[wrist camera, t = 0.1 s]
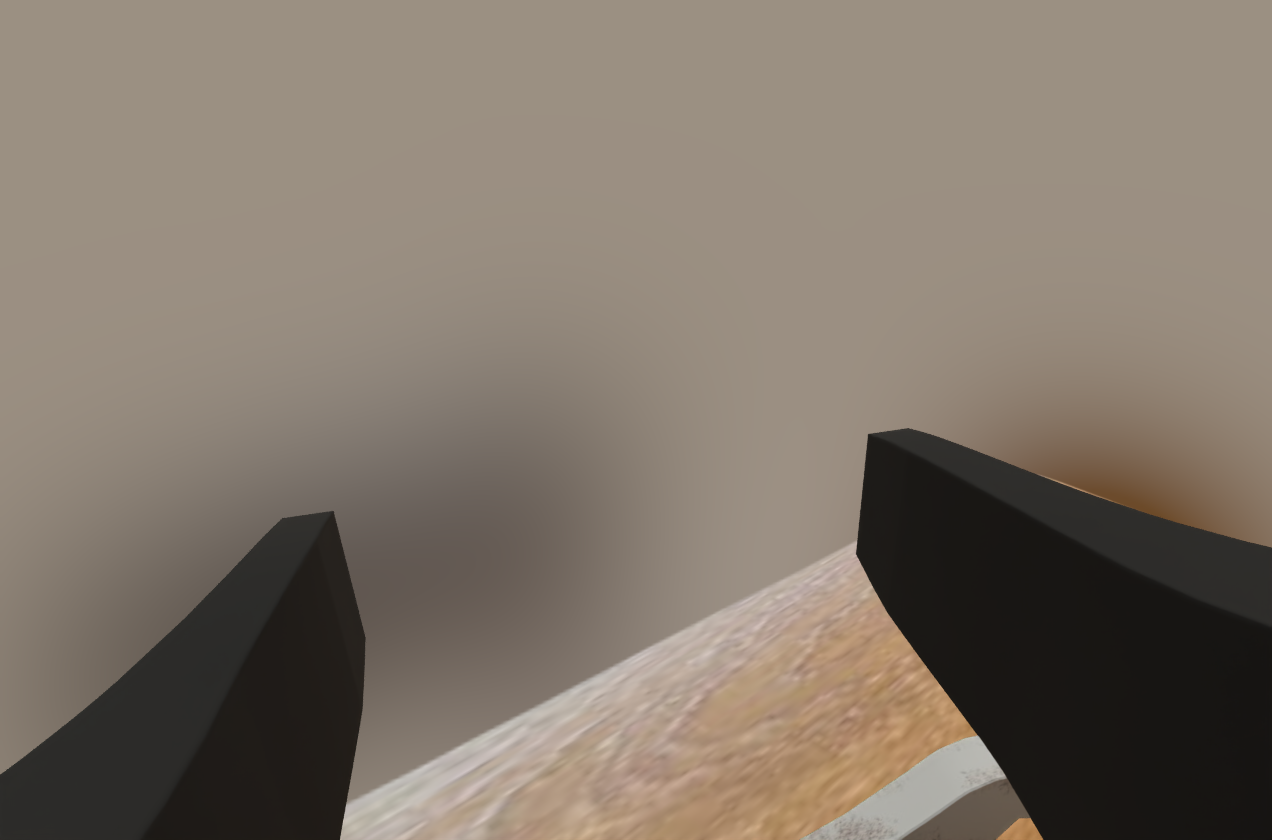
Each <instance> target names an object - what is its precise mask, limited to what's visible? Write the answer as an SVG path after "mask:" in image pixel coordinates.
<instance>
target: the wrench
mask: <svg viewBox="0 0 1272 840" xmlns="http://www.w3.org/2000/svg"><path fill="white" fill-rule="evenodd" d="M1019 818H1030V816H1029V814H1028V813H1027V811H1026V809H1025V808H1024V806H1023V804H1022V803H1021V801H1020V799H1019V798H1018V796H1017V794H1016V793H1015V791H1014V789H1013V788H1012V786H1011V784H1010V783H1009V781H1008V779H1007V778H1006V776H1005V774H1004V773H1003V771H1002V770H1001V768H1000V767H999V765H998V764H997V762H996V761H995V759H994V758H993V756H992V755H991V753H990V752H989V751H988V749H987V748H986V746H985V745H984V743H983V742H982V740H981V739H980V738H979V736H974V737H969V738H964V739H962V740H959V741H957V742H955V743H952V744H950V745H948V746H945V747H943V748H941V749H938V750H937V751H935V752H934V753H932V754H931V755H929V756H928V757H926V758H925V759H924V760H922V761H921V762H919V763H918V764H917V765H915V766H914V767H913V768H911V769H910V770H909V771H907V772H906V773H904V774H903V775H901V776H900V777H898V778H897V779H895V780H894V781H892V782H891V783H890V784H888V785H887V786H885V787H884V788H882V789H881V790H879V791H878V792H876V793H875V794H873V795H872V796H870V797H869V798H868V799H866V800H865V801H863V802H862V803H860V804H859V805H857V806H856V807H854V808H853V809H851V810H850V811H848V812H847V813H846V814H844V815H842V816H840V817H839V818H837V819H835V820H833V821H832V822H830V823H828V824H826V825H825V826H823V827H821V828H819V829H818V830H816V831H814V832H812V833H810V834H809V835H807V836H805V837H803V838H802V839H800V840H996V839H997V838H998V837H999V836H1000V835H1001V834H1002V833H1003V832H1004V831H1006V830H1007V829H1008V828H1009V827H1010V826H1011V825H1012V824H1013V823H1014V822H1015V821H1016V820H1018V819H1019Z"/></svg>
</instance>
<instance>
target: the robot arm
mask: <svg viewBox="0 0 1272 840" xmlns="http://www.w3.org/2000/svg"><path fill="white" fill-rule="evenodd" d="M856 555H857V557H858V559H859V561H860V563H861V565H862V566H863V568H864V570H865V572H866V574H867V576H868V578H869V580H870V582H871V584H872V586H873V588H874V590H875V591H876V593H877V595H878V597H879V599H880V600H881V602H882V604H883V606H884V607H885V609H886V611H887V613H888V614H889V615H890V617H891V618H892V620H893V621H894V623H895V624H896V625H897V627H898V628H899V630H900V631H901V632H902V634H903V635H904V636H905V638H906V639H907V641H908V642H909V643H910V645H911V646H912V647H913V649H914V650H915V652H916V653H917V654H918V656H919V657H920V658H921V660H922V661H923V662H924V664H925V665H926V666H927V668H928V669H929V670H930V672H931V673H932V674H933V676H934V677H935V679H936V680H937V681H938V683H939V684H940V685H941V687H942V688H943V689H944V691H945V692H946V693H947V695H948V696H949V697H950V699H951V700H952V701H953V703H954V704H955V705H956V707H957V708H958V709H959V711H960V712H961V713H962V715H963V716H964V717H965V719H966V720H967V722H968V723H969V724H970V726H971V727H972V728H973V730H974V731H975V732H976V734H977V735H978V736H979V738H980V739H981V740H982V742H983V743H984V745H985V746H986V748H987V749H988V751H989V752H990V753H991V755H992V756H993V758H994V759H995V761H996V762H997V764H998V765H999V767H1000V768H1001V770H1002V771H1003V773H1004V774H1005V776H1006V778H1007V779H1008V781H1009V783H1010V784H1011V786H1012V788H1013V789H1014V791H1015V793H1016V794H1017V796H1018V798H1019V799H1020V801H1021V803H1022V804H1023V806H1024V808H1025V809H1026V811H1027V813H1028V814H1029V816H1030V818H1031V819H1032V821H1033V823H1034V824H1035V826H1036V828H1037V830H1038V831H1039V833H1040V835H1041V836H1042V838H1043V840H1272V548H1271V547H1267V546H1263V545H1259V544H1254V543H1250V542H1246V541H1242V540H1238V539H1235V538H1231V537H1227V536H1224V535H1220V534H1216V533H1213V532H1209V531H1205V530H1202V529H1198V528H1194V527H1191V526H1187V525H1183V524H1180V523H1176V522H1173V521H1170V520H1166V519H1163V518H1160V517H1157V516H1153V515H1150V514H1147V513H1144V512H1141V511H1138V510H1135V509H1132V508H1129V507H1126V506H1123V505H1120V504H1117V503H1114V502H1111V501H1108V500H1105V499H1102V498H1099V497H1096V496H1093V495H1091V494H1088V493H1085V492H1082V491H1080V490H1077V489H1074V488H1071V487H1069V486H1066V485H1063V484H1060V483H1058V482H1055V481H1052V480H1050V479H1047V478H1044V477H1042V476H1039V475H1037V474H1034V473H1031V472H1029V471H1026V470H1024V469H1021V468H1018V467H1016V466H1013V465H1011V464H1008V463H1006V462H1003V461H1001V460H998V459H995V458H993V457H990V456H988V455H985V454H982V453H980V452H977V451H975V450H972V449H969V448H967V447H964V446H962V445H959V444H956V443H953V442H951V441H948V440H945V439H942V438H940V437H937V436H934V435H931V434H927V433H924V432H920V431H917V430H913V429H909V428H907V429H900V430H894V431H887V432H879V433H873V434H868V441H867V451H866V461H865V471H864V480H863V490H862V500H861V510H860V520H859V531H858V540H857V550H856ZM364 665H365V634H364V630H363V626H362V622H361V619H360V615H359V610H358V607H357V603H356V598H355V594H354V590H353V587H352V583H351V579H350V575H349V571H348V567H347V563H346V559H345V555H344V551H343V547H342V543H341V539H340V535H339V531H338V527H337V523H336V519H335V515H334V511H330V512H323V513H316V514H309V515H302V516H295V517H288V518H282V519H281V520H280V521H279V522H278V523H277V524H276V525H275V526H274V527H273V528H272V529H271V530H270V531H269V532H268V533H267V534H266V535H265V536H264V537H263V538H262V539H261V540H260V541H259V542H258V543H257V544H256V545H255V546H254V547H253V549H251V551H250V552H249V553H248V554H247V555H246V556H245V557H244V558H243V559H242V560H241V561H240V562H239V563H238V565H236V566H235V567H234V568H233V570H232V571H231V572H230V573H229V574H228V575H227V576H226V577H225V578H224V579H223V580H222V581H221V582H220V583H219V584H218V585H217V586H216V587H215V588H214V589H213V590H212V591H211V592H210V593H209V594H208V595H207V596H206V597H205V598H204V600H202V601H201V602H200V603H199V604H198V605H197V606H196V608H194V609H193V611H192V612H191V613H190V614H189V615H188V616H187V617H186V618H185V619H184V620H183V621H182V622H181V623H179V624H178V625H177V626H176V627H175V628H174V629H173V630H172V631H171V632H170V633H169V634H168V635H166V636H165V637H164V638H163V639H162V640H161V641H160V642H159V643H158V644H157V645H156V646H155V647H154V648H152V649H151V650H150V651H149V652H148V653H147V654H146V655H145V656H144V657H143V658H142V659H141V660H140V661H138V662H137V664H135V665H134V666H133V667H132V668H131V669H130V670H129V671H128V672H127V673H126V674H124V675H123V676H122V677H121V678H120V679H119V680H118V681H117V682H116V683H115V684H113V685H112V686H111V687H110V688H109V689H108V690H107V691H105V692H104V693H103V694H102V695H101V696H100V697H99V698H97V699H96V700H95V701H94V702H92V703H91V704H90V705H89V706H88V707H87V708H85V709H84V710H83V711H82V712H80V713H79V714H78V715H77V716H76V717H74V718H73V719H72V720H71V721H69V722H68V723H67V724H66V725H64V726H63V727H62V728H60V729H59V730H58V731H57V732H55V733H54V734H53V735H52V736H50V737H49V738H48V739H46V740H45V741H44V742H43V743H41V744H40V745H39V746H38V747H37V748H35V749H34V750H32V751H31V752H30V753H29V754H27V755H26V756H25V757H24V758H22V759H21V760H20V761H18V762H17V763H16V764H14V765H13V766H11V767H10V768H9V769H7V770H6V771H5V772H3V773H2V774H0V840H340V835H341V830H342V824H343V819H344V813H345V807H346V802H347V796H348V790H349V785H350V779H351V773H352V768H353V762H354V756H355V751H356V745H357V739H358V733H359V727H360V721H361V715H362V707H363V689H364Z"/></svg>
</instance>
